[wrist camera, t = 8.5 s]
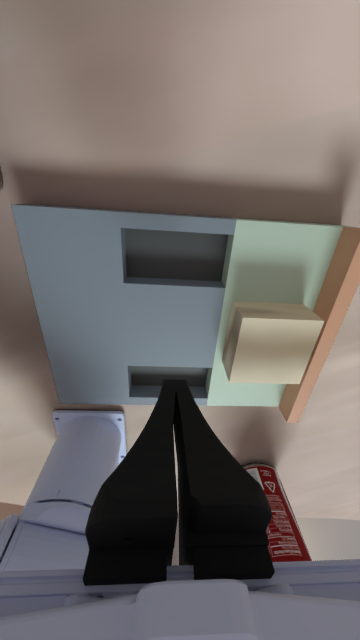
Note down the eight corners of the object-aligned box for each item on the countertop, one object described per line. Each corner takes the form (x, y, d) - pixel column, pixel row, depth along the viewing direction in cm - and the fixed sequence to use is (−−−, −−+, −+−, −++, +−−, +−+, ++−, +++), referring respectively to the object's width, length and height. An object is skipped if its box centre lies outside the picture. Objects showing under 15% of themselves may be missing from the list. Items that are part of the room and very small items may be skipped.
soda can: (223, 467, 33) (249, 594, 22) (269, 454, 32) (319, 580, 21) (237, 490, 36) (265, 611, 25) (279, 478, 35) (328, 600, 24)
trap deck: (281, 392, 27) (298, 422, 23) (67, 389, 25) (50, 420, 22) (341, 225, 18) (381, 231, 15) (27, 204, 17) (-11, 205, 13)
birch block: (283, 361, 22) (299, 384, 19) (221, 360, 22) (229, 382, 19) (303, 304, 19) (324, 320, 17) (232, 301, 19) (242, 317, 16)
